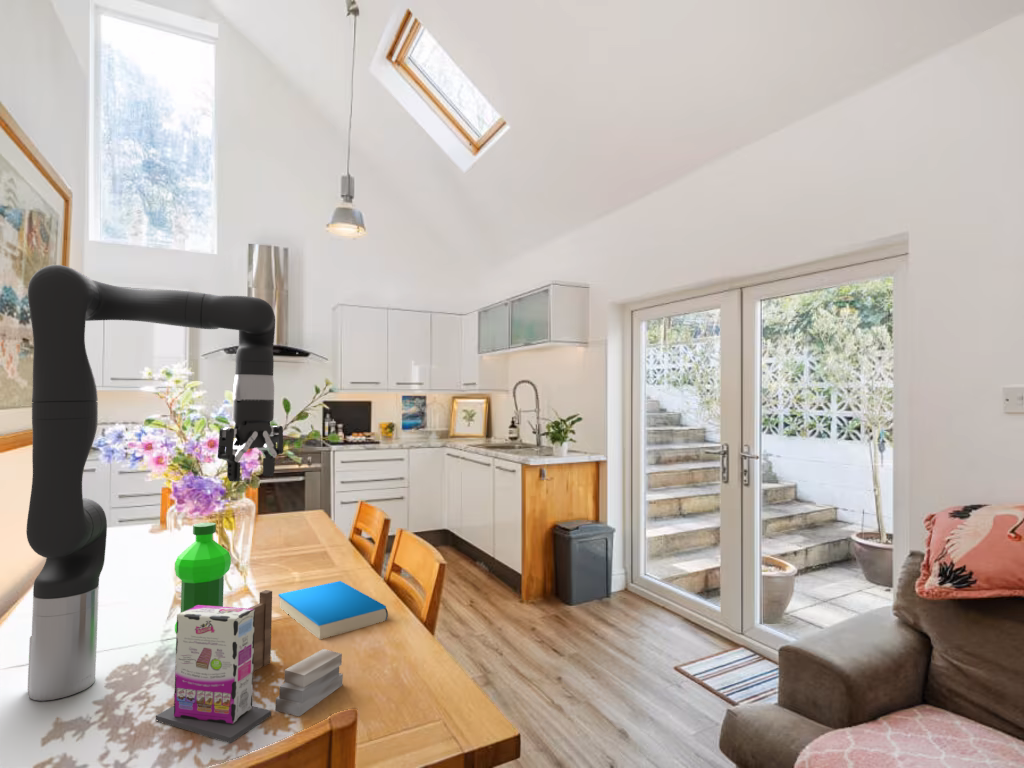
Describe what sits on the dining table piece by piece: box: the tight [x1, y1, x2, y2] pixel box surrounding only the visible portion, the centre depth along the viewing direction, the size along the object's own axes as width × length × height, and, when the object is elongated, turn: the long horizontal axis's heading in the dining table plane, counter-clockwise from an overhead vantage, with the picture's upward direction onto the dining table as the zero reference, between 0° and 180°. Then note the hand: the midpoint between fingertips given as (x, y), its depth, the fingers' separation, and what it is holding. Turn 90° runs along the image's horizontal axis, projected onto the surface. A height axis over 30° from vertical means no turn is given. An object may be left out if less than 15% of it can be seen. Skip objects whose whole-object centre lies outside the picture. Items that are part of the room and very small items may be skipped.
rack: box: [247, 589, 273, 672], centre depth 103 cm, size 2×15×14 cm, turn 159°
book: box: [278, 580, 389, 640], centre depth 135 cm, size 17×4×25 cm
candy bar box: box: [173, 605, 255, 724], centre depth 90 cm, size 11×5×16 cm, turn 79°
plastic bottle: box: [174, 522, 232, 634], centre depth 119 cm, size 10×10×25 cm
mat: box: [155, 705, 272, 744], centre depth 90 cm, size 16×8×1 cm, turn 69°
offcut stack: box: [275, 648, 344, 717], centre depth 96 cm, size 5×11×6 cm, turn 159°
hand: (251, 478), depth 111 cm, fingers open, 8 cm apart
